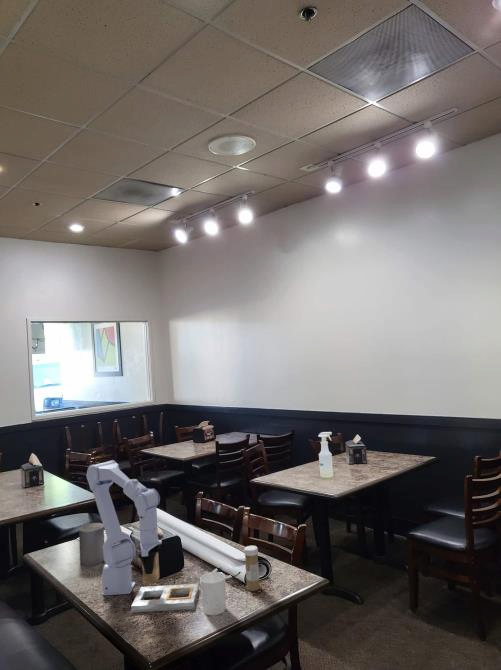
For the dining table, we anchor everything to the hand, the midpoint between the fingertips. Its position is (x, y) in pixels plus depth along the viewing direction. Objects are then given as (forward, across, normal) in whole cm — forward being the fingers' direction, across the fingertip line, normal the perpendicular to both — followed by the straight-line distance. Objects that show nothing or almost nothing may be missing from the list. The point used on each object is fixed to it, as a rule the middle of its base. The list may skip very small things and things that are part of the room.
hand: (150, 570), depth 160 cm
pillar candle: (+10, +37, +32) cm, 50 cm away
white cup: (+10, -8, -21) cm, 25 cm away
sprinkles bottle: (+10, +5, -33) cm, 35 cm away
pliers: (+10, +15, -20) cm, 27 cm away
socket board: (+10, 0, -5) cm, 11 cm away
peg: (+3, 0, 0) cm, 3 cm away
